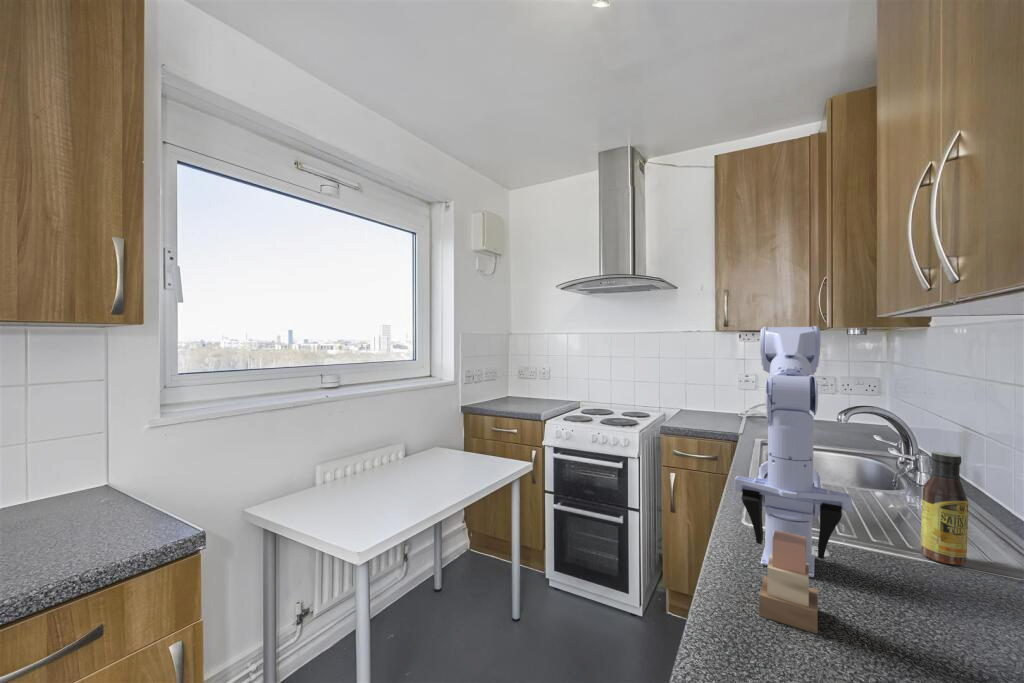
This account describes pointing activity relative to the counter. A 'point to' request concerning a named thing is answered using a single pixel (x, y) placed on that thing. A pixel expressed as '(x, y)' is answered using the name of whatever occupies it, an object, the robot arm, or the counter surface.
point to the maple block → (788, 584)
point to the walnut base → (790, 610)
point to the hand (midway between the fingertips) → (789, 548)
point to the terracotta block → (789, 552)
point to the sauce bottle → (944, 512)
